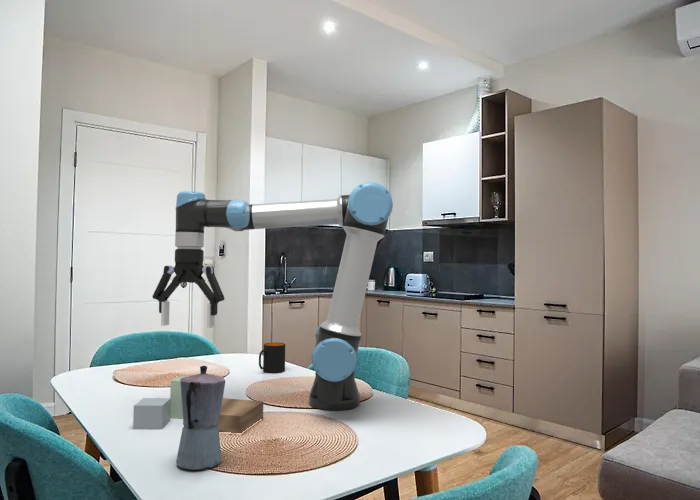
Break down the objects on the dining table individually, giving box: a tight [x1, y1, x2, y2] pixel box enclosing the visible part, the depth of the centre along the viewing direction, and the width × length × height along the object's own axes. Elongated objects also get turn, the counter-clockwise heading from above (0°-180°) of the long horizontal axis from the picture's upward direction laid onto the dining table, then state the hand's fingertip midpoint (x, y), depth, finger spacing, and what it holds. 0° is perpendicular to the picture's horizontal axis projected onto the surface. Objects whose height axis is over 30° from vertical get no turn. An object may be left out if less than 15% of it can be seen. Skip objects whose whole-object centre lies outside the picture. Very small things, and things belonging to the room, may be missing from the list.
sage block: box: [169, 375, 188, 420], centre depth 139 cm, size 6×6×10 cm
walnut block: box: [217, 397, 264, 433], centre depth 132 cm, size 14×14×5 cm
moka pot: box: [175, 365, 226, 471], centre depth 106 cm, size 10×15×20 cm, turn 2°
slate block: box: [132, 397, 171, 430], centre depth 131 cm, size 7×7×6 cm
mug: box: [258, 342, 286, 374], centre depth 195 cm, size 8×12×10 cm
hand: (187, 326), depth 139 cm, fingers open, 13 cm apart
